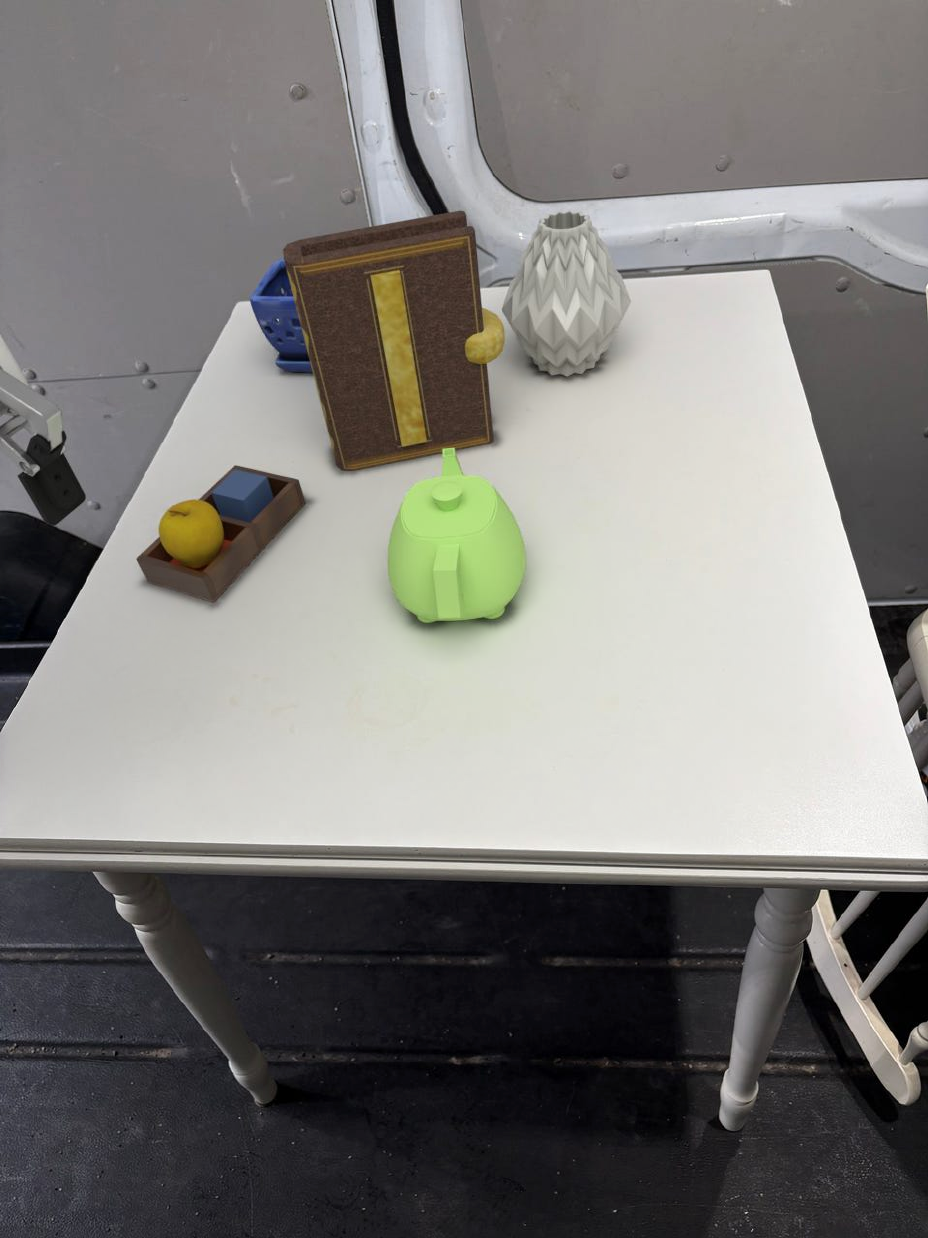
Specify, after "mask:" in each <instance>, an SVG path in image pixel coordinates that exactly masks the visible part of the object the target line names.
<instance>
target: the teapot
mask: <svg viewBox="0 0 928 1238" xmlns="http://www.w3.org/2000/svg"><path fill="white" fill-rule="evenodd" d="M441 467H442V468H441V476H437V477H435V476H434V477H430V478H426V479H422V480H420V481H418V482H416V483H415V484H413V485H412V486H411V487H410V488H409V490H408V491H407V492H406V494H405V496H404V497H403V499H402V501H401V505H400V506H399V508H398V511H397V514H396V517H395V519H394V521H393V525H392V528H391V531H390V536H389V540H388V546H387V547H388V549H387V572H388V579H389V582H390V586H391V589H392V592H393V595H394V596H395V597H396V599H397V601H398V602H399V604H401V605H402V607H403V608H405V609H406V610H407V611H409V613H412V614H414V615H415V616H416V618H417V620H419V621H420V622H422V623H428V624H429V623H434V622H437V621H443V622H445V621H446V622H449V621H451V622H452V621H453V622H454V621H467V620H473V619H480V618H485V619H489V620H494V619H497V618H499V617H501V616H502V615H503V614H504V613H505V611H506V610H505V609H506V606H507V605H508V604H509V603H510V602H511V601H512V599H513V598H514V597H515V596H516V594H517V593H518V591H519V590H520V589H519V588H520V587H521V584H522V582H523V579H524V577H525V572H526V568H527V567H526V566H527V556H526V548H525V547H526V546H525V543H524V539H523V536H522V531H521V529H520V527H519V524H518V521H517V520H516V518H515V516H514V514H513V512H512V510H511V509H510V507H509V506H508V504H507V503H506V501H505V500H504V498H503V497H502V496H501V494H500V493H499V492H498V491H497V489H496V488H495V487H494V486H493V485H492V484H491V483H490V482H489V481H488V480H487V479H486V478H484V477H481V476H477V475H469V474H464V472H463V469H462V467H461V464H460V461H459V458H458V455H457V452H456V450H455V448H446V449H443V453H442V466H441Z"/></svg>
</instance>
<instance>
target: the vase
mask: <svg viewBox="0 0 928 1238" xmlns="http://www.w3.org/2000/svg"><path fill="white" fill-rule="evenodd" d="M530 238H531V239H530V242H529V243H528V245H527V246H526V247H525V249H523V251H522V253H521V258H520V261H519V266H518V268H517V272H516V275H515V276H514V277H513V279H512V280H511V281H510V283H509V285H508V289H507V291H506V295H505V298H504V300H503V304H502V307H501V312H502V313H503V315H504V317H505V319H506V321H507V322H508V325H509V326H510V328H511V330H512V331H513V333H514V335H515V338H516V340H517V341H518V343H519V345H520V346H521V348H522V350H523V351H524V353H525V355H526V356H528V357H530V358H532V360H533V364H534V365H537V366H538V370H539V372H548V374H549V375H550V376H555V375H557V376H558V375H562V376H565V377H567V378H568V377H570V376H571V375H573V374H580V375H583V374H584V373H585V371H587V370H588V369H594V368H595V365H596V363H597V362H598V361H600V358H601V354H603V353H605V352H607V351H608V348H609V347H610V345H611V343H612V341H613V340H614V338H615V336H616V334H617V332H618V330H619V326H620V325H621V323H622V321H623V319H624V317H625V315H626V314H627V311H628V308H629V307H630V305H631V303H632V299H631V297H630V294H629V292H628V289H627V287H626V284H625V282H624V279H623V276H622V274H621V273H620V272H619V271H618V270H617V268H615V267H614V263H613V261H612V257H611V253H610V250H609V247H608V244H606V243H605V242H604V240H602V238H601V237H600V235H599V232H598V229H597V228H596V227H595V226H594V225H593V222H592V220H591V218H590V215H589V214H583V212H582V211H576V212H574V211H572V210H571V209H570V210H567V211H565V212H563V211H559V210H557V211H556V212H555V213H553V214H551V213H547V214H546V216H545V217H541V218H539V219H538V224H537V227H536V230H535V231H533V233H532V235H531V237H530Z"/></svg>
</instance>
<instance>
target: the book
mask: <svg viewBox="0 0 928 1238" xmlns="http://www.w3.org/2000/svg"><path fill="white" fill-rule="evenodd" d="M476 236H477V235H476V230H475V228H474V226H472V225H468V219H467V214H466V212H465V210H456V211H451V212H450V211H449V212H445V213H440V214H433V215H428V216H423V217H416V218H412V219H406V220H399V221H395V222H390V223H389V222H388V223H384V224H377V225H374V226H367V227H361V228H355V229H351V230H344V231H340V232H335V233H328V234H323V235H317V236H312V237H306V238H300V239H298V240H295V241H292V242H289V243H287V244H286V245H285V246H284V248H283V249H282V254H283V259H284V261H285V265H286V269H287V273H288V277H289V281H290V285H291V290H292V293H293V297H294V300H295V304H296V308H297V312H298V316H299V320H300V324H301V328H302V332H303V336H304V340H305V344H306V348H307V352H308V355H309V359H310V363H311V367H312V371H313V372H312V375H313V378H314V382H315V385H316V386H315V387H316V390H317V394H318V399H319V402H320V406H321V410H322V415H323V419H324V421H325V426H326V429H327V434H328V437H329V441H330V446H331V449H332V453H333V457H334V461H335V465H336V467H338V468H339V469H340V470H341V471H348V472H352V471H353V472H354V471H359V470H364V469H369V468H373V467H378V466H384V465H388V464H395V463H398V462H403V461H408V460H414V459H418V458H424V457H428V456H434V455H438V454H443V449H446V448H455V451H459V450H463V449H467V448H472V447H473V448H474V447H479V446H483V445H484V446H485V445H489V444H493V443H494V441H495V439H494V430H493V429H494V427H493V417H492V416H493V415H492V405H491V395H490V394H491V393H490V384H489V383H490V382H489V372H488V371H489V370H488V364H489V363H491V362H493V361H494V360H495V359H497V358H498V357H500V355H501V354H502V353H503V350H504V347H505V342H506V334H505V327H504V324H503V322H502V320H501V318H500V317H499V316H498V314H496V313H495V312H494V311H493V312H492V311H491V310H490V309H487V308H485V307H483V304H482V294H481V282H480V271H479V270H480V269H479V259H478V248H477V238H476Z"/></svg>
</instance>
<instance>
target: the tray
mask: <svg viewBox="0 0 928 1238" xmlns="http://www.w3.org/2000/svg"><path fill="white" fill-rule="evenodd" d="M234 470H240V471H244V472H248V473H253V474H257V475H261V476H266V477H267V479H268V482H269V485H270V488H271V491H272V494H273V497H274V499H273V500H272V501H271V502H270V503H269V504H268V505H267V506H266V507H265V508H264V509H263V510H262V511H261V512H260V513H259V514H258V515H257V516H256V517H255V518H254V519H253V520H252V521H251V523H249V522H245V521H242V520H238V519H234V518H230V517H226V516H222V515H220V514H219V511H218V509H217V506H216V504H215V501H214V499H213V496H212V494H211V492H212V491H213V490H214V489H215V488H216V487H217V486H218V485H219V484H220V483H221V482H222V481H224V480H225V479H226V478H227V477H228V476H229V475H230V474H231V473H232V472H233V471H234ZM198 500H201V501H204V502H207V503H209V504H210V505H212V506H213V507H214V509H215V510H216V511H217V513H218V515H219V517H220V519H221V522H222V526H223V530H224V540H223V544H222V547H221V550H220V552H219V554H218V556H217V557H216V558H215V559H214V560H213V561H212V563H211V564H208V565H206V566H203V567H201V568H191V567H188V566H184V565H183V564H181V563H180V562H179V561H177V560H176V559H175V558H173V557H172V556H171V555H170V554H169V553H168V552H167V551H166V550H165V548H164V547H163V545H162V543H161V540H160V536H158V537H157V538H156V539H155V540H154V541H153V542H152V543H151V544H150V545H149V546H147V548H145V550H144V551H142V552H141V554H139V556H137V557H136V558H135V560H136V562H137V564H138V565H139V567H140V569H141V571H142V573H143V575H144V577H145V579H146V582H147V583H149V584H153V585H156V586H159V587H162V588H166V589H169V590H172V591H175V592H178V593H181V594H185V595H188V596H192V597H195V598H197V599H201V600H203V601H208V602H211V603H215V602H216V601H217V600H218V599H219V598H220V597H221V595H223V593H224V592H225V591H226V590H227V589H228V588H229V587H230V586H231V585H232V584H233V583H234V582H235V580H236V579H237V578H238V577H239V576H240V575H241V574H242V573H243V572H244V571H245V570H246V569H247V567H248V566H249V565H250V564H251V563H252V562H253V561H254V560H255V559H256V558H257V557H258V555H259V554H260V553H261V552H262V551H263V550H264V549H265V548H266V547H267V546H268V545H269V543H270V542H272V540H274V538H275V537H276V536H277V535H278V534H279V533H280V532H281V531H282V530H283V528H284V527H285V526H286V525H287V524H288V523H289V522H290V521H291V520H292V519H293V518H294V517H295V515H296V514H297V513H298V512H299V511H300V510H301V509H302V508H303V507H304V506H305V505H306V502H307V501H306V499H305V496H304V493H303V489H302V486H301V483H300V479H298V478H295V477H289V476H284V475H280V474H276V473H272V472H267V471H264V470H263V471H262V470H259V469H254V468H250V467H245V466H241V465H236V464H235V465H233V466H232V467H231V468H230V469H229V470H228V471H227V472H226V473H225V474H224V475H223V476H221V478H220V479H218V481H216V482H215V484H214V485H212V486H211V487H210V488H209V489H208V490H207V491H206V492H205V493H204V494H203V495H202V496H201V497H199V498H198Z"/></svg>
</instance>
